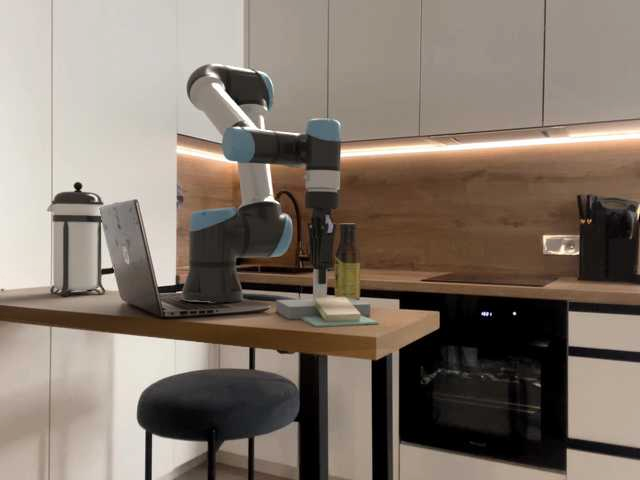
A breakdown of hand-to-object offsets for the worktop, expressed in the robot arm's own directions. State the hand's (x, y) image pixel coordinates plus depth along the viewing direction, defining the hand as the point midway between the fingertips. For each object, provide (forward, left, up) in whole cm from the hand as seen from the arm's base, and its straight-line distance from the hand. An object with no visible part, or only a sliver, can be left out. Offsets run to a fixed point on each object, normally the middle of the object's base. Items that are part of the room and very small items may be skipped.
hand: (319, 298), depth 129 cm
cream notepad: (+10, 0, -2) cm, 10 cm away
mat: (+12, 0, -3) cm, 12 cm away
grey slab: (+1, 0, -3) cm, 3 cm away
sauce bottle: (-12, +11, -3) cm, 17 cm away
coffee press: (-48, -52, -3) cm, 71 cm away
